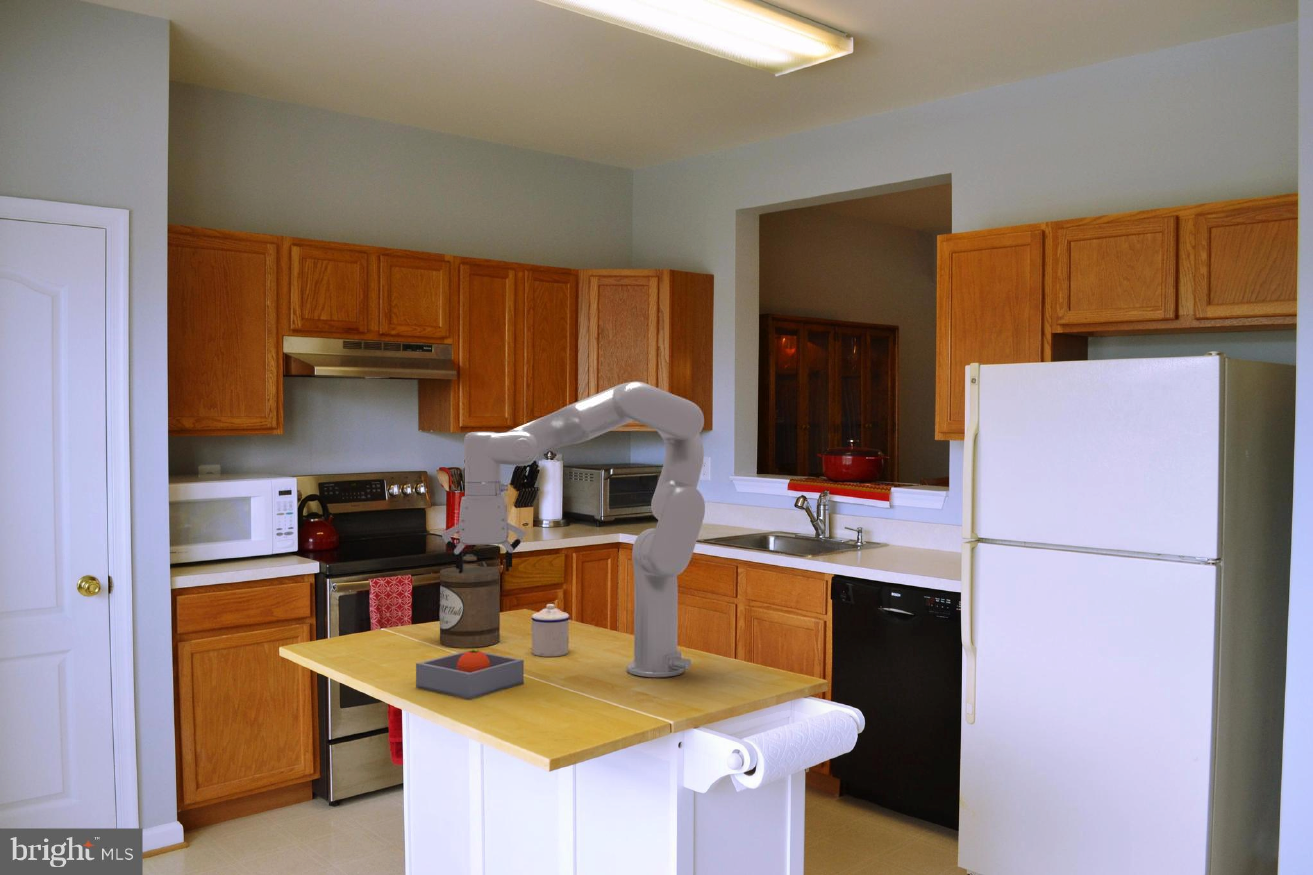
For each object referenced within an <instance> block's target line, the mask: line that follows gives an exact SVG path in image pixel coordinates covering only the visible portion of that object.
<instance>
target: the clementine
mask: <svg viewBox="0 0 1313 875" xmlns="http://www.w3.org/2000/svg"><path fill="white" fill-rule="evenodd" d="M470 650H471V651H469V650H466V651H467V652H465V651H464V652H465V653H464V654H463V655H462V656H461V657H460V658H459V660H458V662H457V670H459V671H464V672H469V673H471V672H474V671H478V670H482V669H485V668H489V667H490V661H489V659H488V657H487V656H486V655H485V654H484V653H483V651H482V650H479V649H470Z"/></svg>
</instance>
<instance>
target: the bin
mask: <svg viewBox="0 0 1313 875" xmlns="http://www.w3.org/2000/svg"><path fill="white" fill-rule="evenodd" d="M471 650H472V649H469V650H465V651H462V652H457V653H453V654H449V655H444V656H440V657H436V658H432V659H428V660H425V661H424V660H423V661H421V662H416V663H415V688H416V689H420V690H425V691H429V692H434V693H437V694H438V693H439V694H443V695H447V696H452V697H456V698H461V699H465V700H473V699H477V698H479V697H480V698H481V697H482V696H486V695H490V694H495V693H497V692H500V691H502V690H507V689H510V688H512V687H513V688H514V687H517V686H520V685H523V684H524V682H525V681H524V679H525V678H524V677H525V675H524V674H525V670H524V669H525V664H524V662H525V661H524V660H525V659H522V658H517V657H511V656H510V657H509V656H504V655H500V654H494V653H489V652H483V651H482V652H483V653H484V654H485V655H486V656H487V657H488V659H489V661H490V667H489V668H485V669H482V670H478V671H474V672H471V673H469V672H464V671H459V670H457V662H458V660H459V658H460V657H461V656H462V655H463V654H464V653H465V652H467V651H471Z"/></svg>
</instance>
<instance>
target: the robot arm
mask: <svg viewBox="0 0 1313 875" xmlns="http://www.w3.org/2000/svg"><path fill="white" fill-rule="evenodd" d="M632 422H636V423H639V424H641V425H644V426H646V427H648V428H651V429H654V430H656V431H657V433H658V434H659V436H660V437H661V439H662V440H663V442H664V447H665V457H664V462H663V466H662V469H661V472H660V475H659V478H658V480H657V484H656V487H655V491H654V493H653V496H652V498H651V502H650V503H651V505H650V506H651V508H650V509H651V512H652V514H653V516H654V517H655V518H656V520H658V521H657V524H656V526H655V527H651V528H648V529H644V530H643V531H641V533H639V534H638V535H637V537H636V539H635V540H634V542H633V544H632V545H633V546H632V554H631V555H632V556H631V557H632V558H631V559H632V567H633V576H634V623H633V624H634V632H633V634H634V636H633V637H634V641H633V643H634V649H633V650H634V652H633V653H634V654H633V656H634V657H633V658H634V661H632V662H629V664H627V667H626V668H627V669H626V671H627V672H628V673H629V674H631V675H633V676H638V677H643V678H669V677H675V676H678V675H681V674H683V673H684V672H685V670H689V669H690V667H691V666H690V665H691V662H692V660H691V659H690V658H683V657H682V651H680V650H678V602H679V600H678V599H679V598H678V596H679V595H678V592H679V590H678V578H677V576H678V575H680V574H682V573H683V572H684V571H685V570H686V568H687V567H688V566H689V564H690V561H691V559H692V556H693V553H694V550H695V547H696V544H697V541H698V538H699V535H700V531H701V529H702V526H703V522H704V520H705V513H706V503H705V499H704V497H703V495H702V493H701V492H700V491H699V489H697V487H698V485H699V482H700V478H701V474H702V473H701V472H702V468H703V465H704V460H705V451H704V445H703V441H702V438H701V435H700V433H701V432H702V430H703V428H704V426H705V425H704V424H705V418H704V413H703V411H702V409H701V408H700V407H699V406H698V405H697V404H696V403H695V402H693V401H690V400H689V399H686V398H684V397H682V396H678V395H676V394H672V393H671V392H668V391H665V390H663V389H661V388H659V387H655V386H653V385H651V384H648V383H646V382H642V381H628V382H624V383H620V384H618V385H616V386H613V387H610V388H608V389H606V390H603V391H600V392H599V393H596V394H594V395H591V396H589V397H586V398H584V399H581V400H579V401H576V402H573V403H571V404H569V405H567V406H564V407H562V408H560V409H558V410H556V411H554V412H552V413H549V414H547V415H545V416H543V417H540V418H537V419H535V420H532V421H530V422H526V424H522V425H520V426H518V427H515V428H513V429H510V430H508V431H505V432H495V431H474V432H473V431H471V432H468V433H466V435H465V436H464V440H463V441H464V442H463V443H464V447H463V448H464V496H462V497H461V501H460V507H459V518H458V519H459V521H458V524H457V525H455V526H452V527H451V528H449V529H447V530H446V531H443V532H442V534H441V537H442V540H444V542H445V544H446V546H447V547H448V548H449V549H450V550H451V551H452V552H453V553H454V554H455V567H456V569H459V573H463V563H464V561H463V557H464V553H463V549H464V548H465V547H466V546H469V545H470V546H472V545H473V546H474V545H475V546H477V545H478V546H481V545H483V546H484V545H502V546H503V548H505V549H506V551H505V553H504V558H505V561H504V562H505V564H504V565H505V566H504V567H505V572H508V573H509V572H510V568H513V552H514V551H515V550H516V549H517V548H518V546H520V544H521V543H522V541H523V538H524V537H525V535H526V531H525V529H522V528H520V527H518V526H516V525H514V524H512V523H510V522H509V517H508V507H507V506H508V505H507V500H506V496H505V495H502V493H503V492H507V491H509V484H505V483H503V482H502V465H508V466H516V467H517V466H518V467H524V466H528V465H529V464H531V463H533V462H534V461H535V460H536V459H537V457H538V456H539V455H541V454H542V455H543V454H544V453H546V452H547V453H548V452H549V451H552V450H554V449H558V448H561V447H564V446H570V445H575V444H580V443H583V442H587V441H590V440H591V439H594V438H596V437H599V436H600V435H603V434H605V433H608V432H610V431H612V430H614V429H616V428H620V427H622V426H625V425H626V424H629V423H632ZM509 531H510V532H512V533H515V534H516V535H517V536H516V537H515V539H514V540H513V542H512V543H511V542H509V540H508V538H509ZM456 533H458V536H459V537H458V538H459V543H458V544H456V543H454V541H453V539H452V538H451V536H452V535H453V534H456Z"/></svg>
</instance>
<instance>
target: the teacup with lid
mask: <svg viewBox="0 0 1313 875" xmlns="http://www.w3.org/2000/svg"><path fill="white" fill-rule="evenodd" d="M545 606H546V607H545V608H542V610H540V611H538V612H536V613H533V614H532V616H531V620H532V621H531V626H530V627H531V629H530V630H531V636H532V637H531V653H532V654H533V655H534V656H536V657H542V658H543V657H544V658H552V657H553V658H554V657H555V658H556V657H561V656H565V655H567V654H568V653H569V630H570V629H569V624H570V623H569V620H570V615H569V614H568V613H567V612H564V611H561V610H560V609H559V608H556V605H555V604H552V603H548V604H546V605H545Z"/></svg>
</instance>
